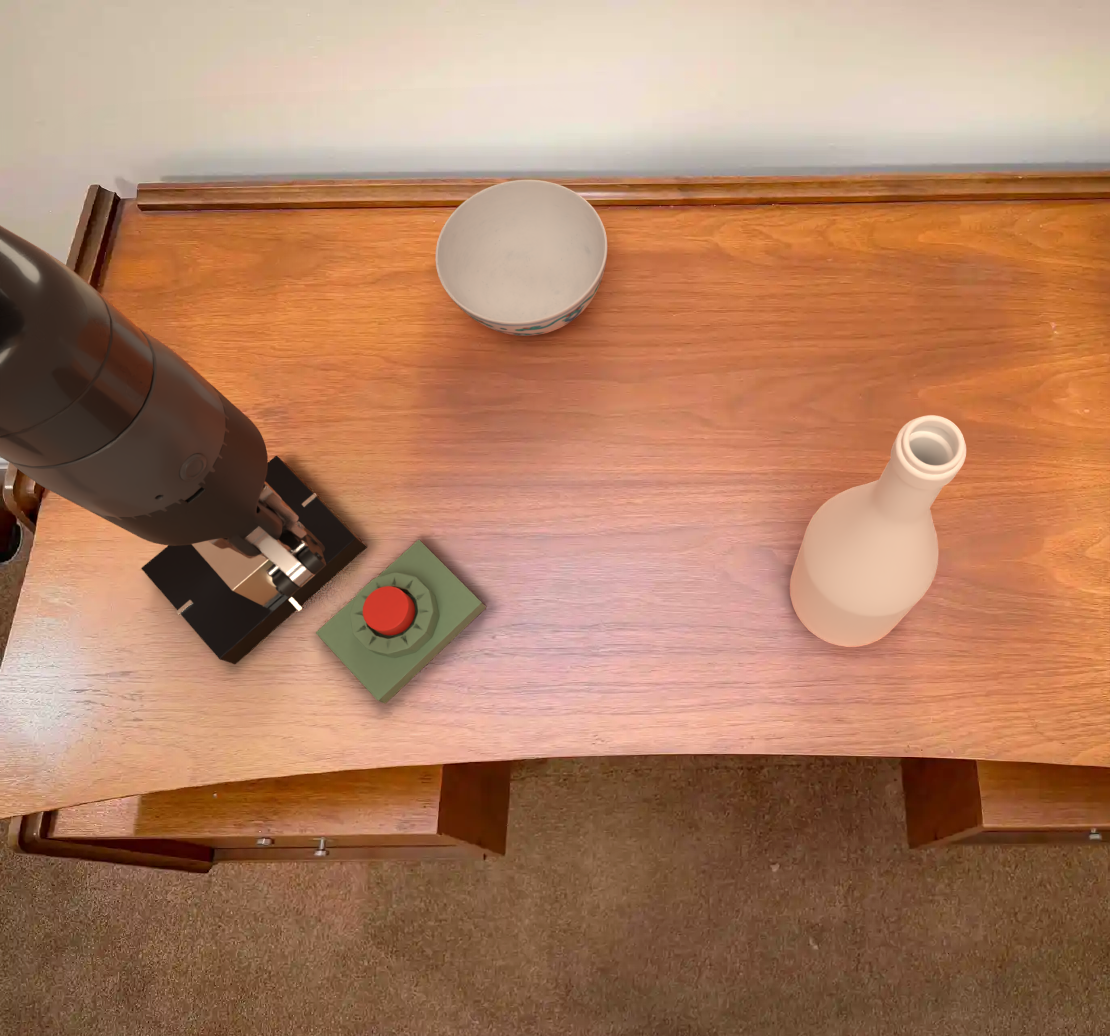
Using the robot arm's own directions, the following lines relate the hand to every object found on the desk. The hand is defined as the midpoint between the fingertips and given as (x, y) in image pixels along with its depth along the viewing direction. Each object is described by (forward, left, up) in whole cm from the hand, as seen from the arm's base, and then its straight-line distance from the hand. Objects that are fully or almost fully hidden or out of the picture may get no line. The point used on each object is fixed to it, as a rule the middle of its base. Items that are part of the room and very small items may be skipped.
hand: (306, 553), depth 55 cm
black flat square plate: (-5, +13, -19) cm, 24 cm away
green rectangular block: (0, 0, -19) cm, 19 cm away
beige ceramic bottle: (+27, -25, -19) cm, 42 cm away
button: (0, 0, -16) cm, 16 cm away
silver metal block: (-5, +13, -16) cm, 22 cm away
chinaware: (+29, +15, -19) cm, 38 cm away
